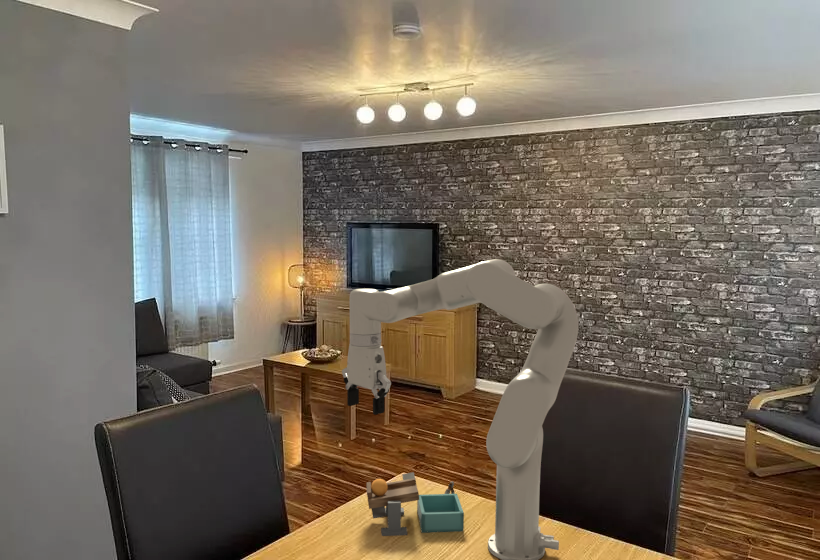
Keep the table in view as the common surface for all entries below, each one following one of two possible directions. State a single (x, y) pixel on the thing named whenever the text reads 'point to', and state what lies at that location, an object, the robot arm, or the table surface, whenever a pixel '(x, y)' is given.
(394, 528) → the lever stand
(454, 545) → the table surface
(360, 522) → the table surface
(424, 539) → the table surface
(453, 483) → the wooden post with brackets
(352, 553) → the table surface
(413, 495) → the lever
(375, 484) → the ball
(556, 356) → the robot arm
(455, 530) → the teal open box
